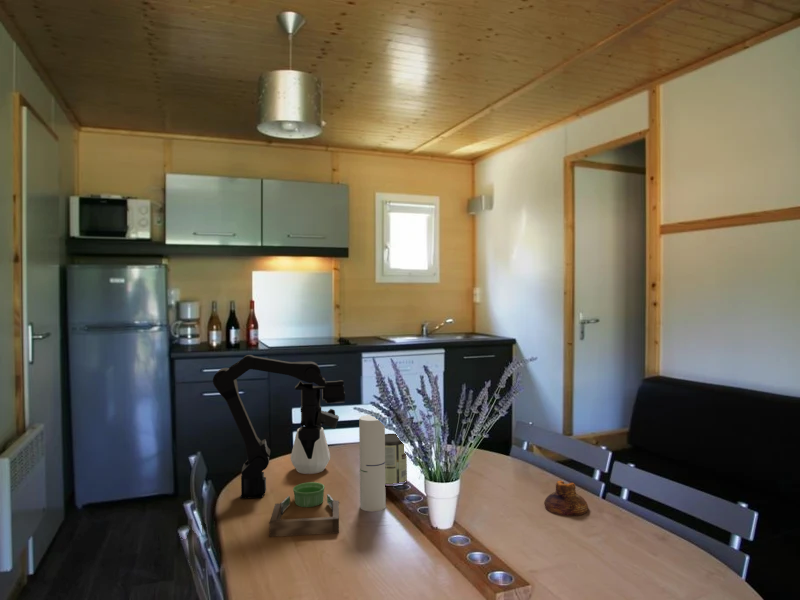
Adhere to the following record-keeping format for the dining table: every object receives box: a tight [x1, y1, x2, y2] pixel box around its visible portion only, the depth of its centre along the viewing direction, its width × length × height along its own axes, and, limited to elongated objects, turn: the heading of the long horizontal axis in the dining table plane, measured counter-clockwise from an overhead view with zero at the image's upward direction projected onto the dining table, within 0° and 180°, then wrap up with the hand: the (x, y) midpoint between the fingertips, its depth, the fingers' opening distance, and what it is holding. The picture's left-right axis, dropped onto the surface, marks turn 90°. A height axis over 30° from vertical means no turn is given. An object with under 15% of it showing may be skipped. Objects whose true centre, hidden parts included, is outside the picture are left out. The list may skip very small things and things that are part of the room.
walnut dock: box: [268, 500, 340, 538], centre depth 144 cm, size 17×12×4 cm
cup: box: [290, 426, 331, 475], centre depth 190 cm, size 13×13×14 cm
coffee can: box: [385, 433, 408, 484], centre depth 177 cm, size 10×10×14 cm
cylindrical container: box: [358, 414, 387, 512], centre depth 156 cm, size 7×7×25 cm
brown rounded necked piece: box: [543, 480, 589, 517], centre depth 154 cm, size 12×12×7 cm
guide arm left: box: [280, 495, 291, 516], centre depth 154 cm, size 6×1×3 cm, turn 170°
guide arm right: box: [326, 493, 336, 513], centre depth 155 cm, size 6×1×3 cm, turn 22°
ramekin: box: [292, 481, 325, 508], centre depth 160 cm, size 9×9×4 cm
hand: (310, 454), depth 169 cm, fingers open, 8 cm apart
